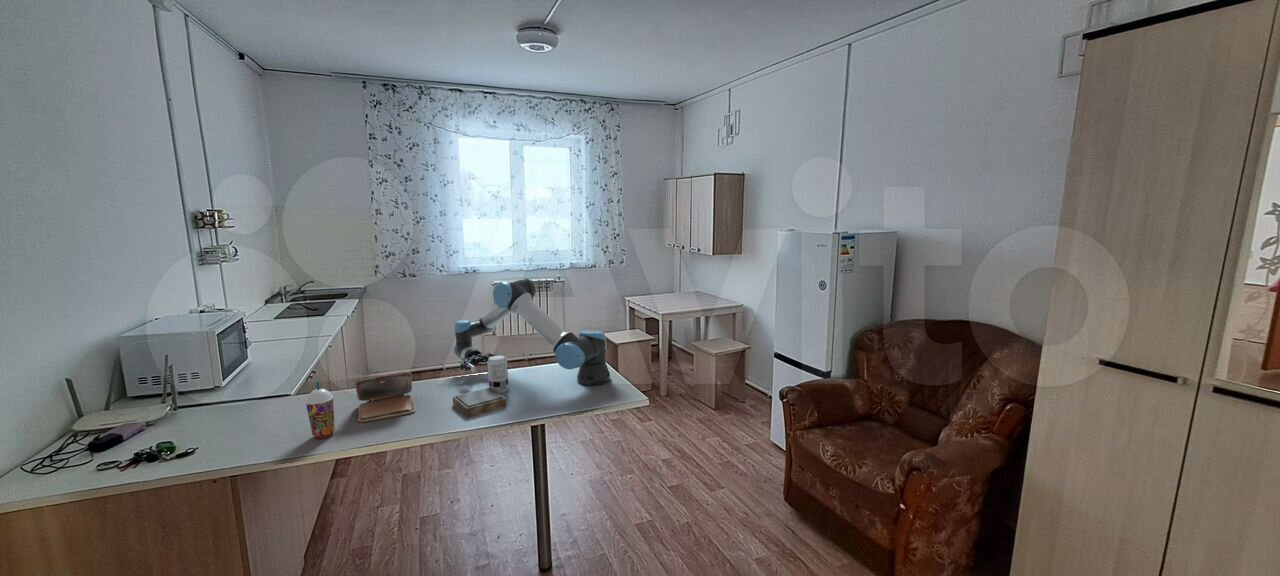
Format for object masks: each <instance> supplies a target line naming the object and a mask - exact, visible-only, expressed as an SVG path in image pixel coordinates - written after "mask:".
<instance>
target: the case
mask: <svg viewBox="0 0 1280 576" xmlns="http://www.w3.org/2000/svg"><path fill="white" fill-rule="evenodd" d="M354 387H355V392H356V397H357V400H358V401H362V402H363V403H360V404H359V405H358V406H357V407H358V408H357V409H358V410H357V413H358V414H357V415H358V416H357V421H358V423H360V424H361V423H369V422H375V421H379V420H380V421H381V420H385V419H392V418H397V417H401V416H407V415H411V414H414V413H415V412H416V411H417V409H416V406H415V400H414V397H413V396H412V395H409V393H411V392H412V390H413V373H412V372H411V371H409V370H408V371H407V370H406V371H400V372H393V373H388V374H381V375H377V376H370V377H365V378H358V379H357V380H355V382H354Z"/></svg>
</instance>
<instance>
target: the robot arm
mask: <svg viewBox="0 0 1280 576" xmlns="http://www.w3.org/2000/svg"><path fill="white" fill-rule="evenodd" d="M536 288H537V287H536V286H535V284H534V282H533V281H532V280H531V279H529V278H526V277H520V278H513V279H510V280H509V279H508V280H503V281H500V282H498V283H497V284H495V286H494V288H493V292H492V296H493V297H492V298H493V301H494V304H495V306H494V307H493V308H492V309H490V310H489V311H488V312H487V313H485V314H484V315H483V316H481V318H479V319H477V320H475V321H470V320H469V319H460V320H456V321H455V323H454V334H455V335H454V336H455V345H454V347H453V348H454V349H453V352H454V355H456V357H457V358H459V359H461V362H460V364H459V365H460V366H459V367H460V370H461V371H463V370H464V369H465V370H464V371H465V372H467V371H470V372H472V373H473V374H475V373H476V366H477V365H479V364H483V363H485V364H486V363H487V361H488V359H489V357H491V356H496V355H497V354H494V353H486V354H483V353H482V352H481V351H480V350H479V349H477V348H475V347H473V338H474V337H478V336H482V335H484V334H489V333H490V332H492V331H493V330H495V327H496V326H497V325H498V324H499V323H501V322H502V321H503V320H505V318H507V317H508V316H510V314H518V315H519V316H520V317H521V318H522V319H523V320H524V321H525V322H526V323H527V324H528V325H530V326H531V327H532V328H533V330H534V331H536V332H537V333H538V334H539V335H540V337H542V338H543V339H544V340H546V341H547V343H549V344H550V345H551V346H552V352H553V353H554V357H555V358H556V359H555V360H556V362H557V364H558V365H559V366H560V367H562V368H563V369H565V370H574V369H577V368H579V369H578V371H577V375H576V378H577V379H576V382H577V383H578V384H580V385H583V386H584V385H585V386H599V385H604V384H607V383H608V382H610V380H611V373H610V371H609V369H608V366H607V361H606V360H607V359H606V358H607V357H606V335H605V333H604V332H603V331H600V330H592V329H591V330H589V329H588V330H587V329H586V330H581V331H579V335H578V336H579V337H578V336H577V335H575V333H574V332H572V331H566V329H564V328H563V327H562V326H561V325H559V323H557V321H555V320H554V319H553V318H552V317H551V316H550V315H549V314H548V313H547V312H546V311H544V310H543V309H542V308H541V307H540V306H539V305H538V304H537V303H536V302H535V301H533V299H534V298H535V296H536V293H537V289H536Z"/></svg>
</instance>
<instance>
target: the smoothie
mask: <svg viewBox="0 0 1280 576" xmlns="http://www.w3.org/2000/svg"><path fill="white" fill-rule="evenodd" d="M315 383H316V389H313V390H312V391H311V392H310V393H309V394H308V396H307V398H306V400H305V405H306V410H307V416H308V420H309V425H310V430H311V434H312V436H314V439H318V440H322V439H326V438H329V437H332V436H333V435H334V432H335V429H336V427H335V408H334V404H335V403H334V395H332V393H331V392H330V391H329V390H327V389H326V388H320V383H319V381H316V382H315Z"/></svg>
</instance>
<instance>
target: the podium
mask: <svg viewBox="0 0 1280 576" xmlns="http://www.w3.org/2000/svg"><path fill="white" fill-rule="evenodd" d="M452 405H453V406H454V407H455V408H456V409H457V410H459V411H460V412H461V413H462V414H463V415H464V416H465V417H466V418H469V417H472V416H474V417H475V416H477V415H481V414H484V413H488V412H491V411H496V410H499V409H503V408H506V407H507V406H508V405H507V398H506V397H505V396H503V395H502V393H498V392H496V391H495V390H493V389H492V388H489V387H486V388H481V389H478V390H477V389H476V390H473V391H469V392H465V393H461V394H457V395H456V394H455V395H454V396H452Z"/></svg>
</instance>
